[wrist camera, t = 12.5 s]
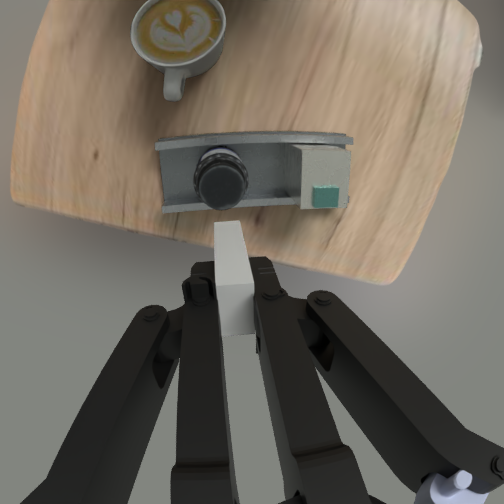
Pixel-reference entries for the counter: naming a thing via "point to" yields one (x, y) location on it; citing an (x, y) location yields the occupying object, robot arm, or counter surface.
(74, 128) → the counter surface
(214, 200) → the pill bottle
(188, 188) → the rail
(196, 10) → the coffee mug
